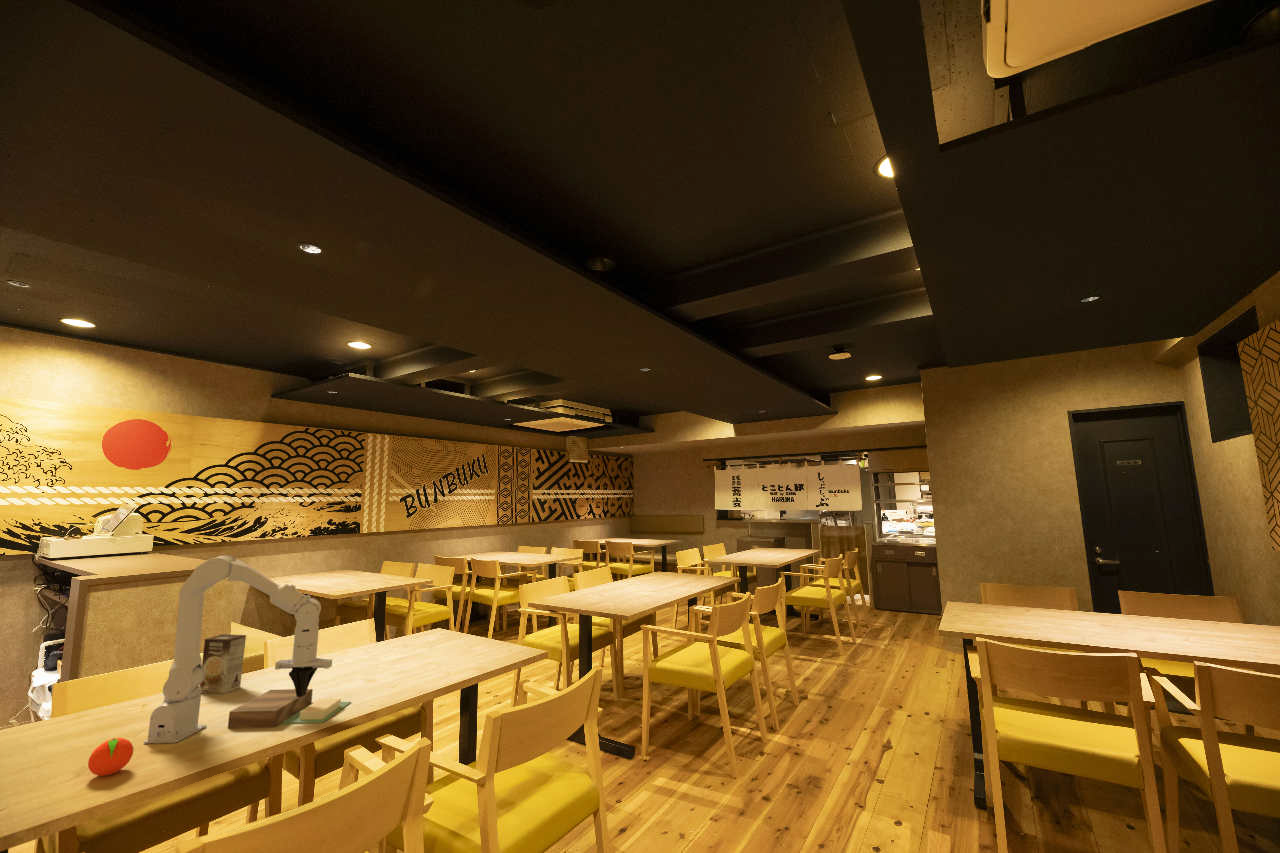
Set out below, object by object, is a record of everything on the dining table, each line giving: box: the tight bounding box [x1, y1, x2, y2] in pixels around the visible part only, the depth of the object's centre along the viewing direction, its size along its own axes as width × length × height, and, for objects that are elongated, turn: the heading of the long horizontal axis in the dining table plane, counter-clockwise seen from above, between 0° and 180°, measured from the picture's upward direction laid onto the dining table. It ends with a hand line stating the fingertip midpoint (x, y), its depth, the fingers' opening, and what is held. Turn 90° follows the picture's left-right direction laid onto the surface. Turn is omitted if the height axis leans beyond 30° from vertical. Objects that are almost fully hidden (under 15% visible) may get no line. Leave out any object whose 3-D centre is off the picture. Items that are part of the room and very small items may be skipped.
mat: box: [280, 701, 352, 725], centre depth 144 cm, size 14×11×1 cm
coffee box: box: [198, 633, 247, 695], centre depth 163 cm, size 9×6×16 cm
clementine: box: [87, 737, 134, 777], centre depth 112 cm, size 8×7×7 cm
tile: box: [299, 698, 342, 720], centre depth 143 cm, size 9×6×2 cm, turn 2°
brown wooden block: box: [227, 688, 314, 729], centre depth 142 cm, size 16×12×4 cm
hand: (301, 695), depth 143 cm, fingers closed
